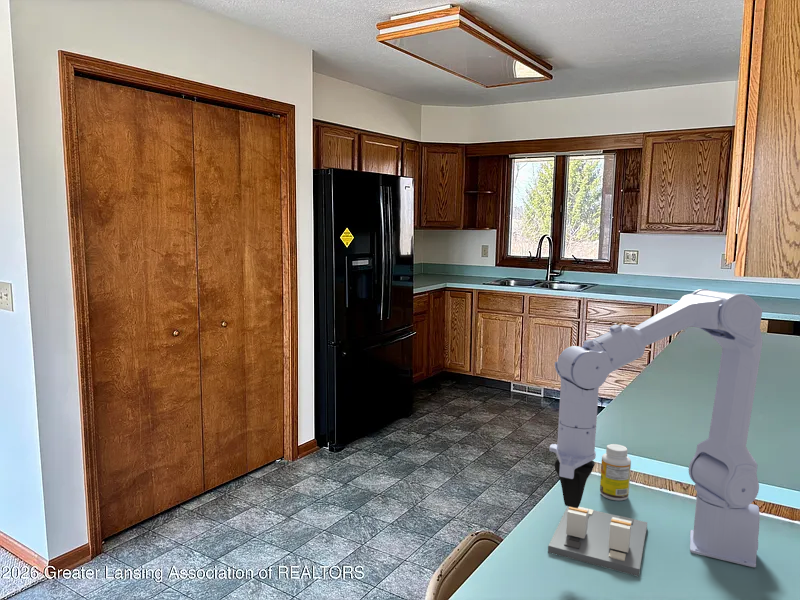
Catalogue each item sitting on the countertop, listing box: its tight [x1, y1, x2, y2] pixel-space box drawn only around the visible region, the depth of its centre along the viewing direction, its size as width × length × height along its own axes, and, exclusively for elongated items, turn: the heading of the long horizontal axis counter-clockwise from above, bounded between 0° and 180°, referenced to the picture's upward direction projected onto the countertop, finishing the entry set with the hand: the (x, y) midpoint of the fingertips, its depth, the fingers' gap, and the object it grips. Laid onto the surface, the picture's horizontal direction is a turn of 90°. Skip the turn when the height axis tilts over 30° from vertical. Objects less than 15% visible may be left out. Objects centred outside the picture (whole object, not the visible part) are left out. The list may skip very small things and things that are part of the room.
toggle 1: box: [566, 506, 590, 539], centre depth 99 cm, size 3×3×4 cm
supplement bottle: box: [599, 443, 632, 501], centre depth 117 cm, size 6×6×10 cm
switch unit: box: [547, 506, 648, 577], centre depth 100 cm, size 14×17×1 cm
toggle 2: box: [609, 517, 632, 553], centre depth 95 cm, size 3×3×4 cm
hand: (572, 505), depth 93 cm, fingers closed
